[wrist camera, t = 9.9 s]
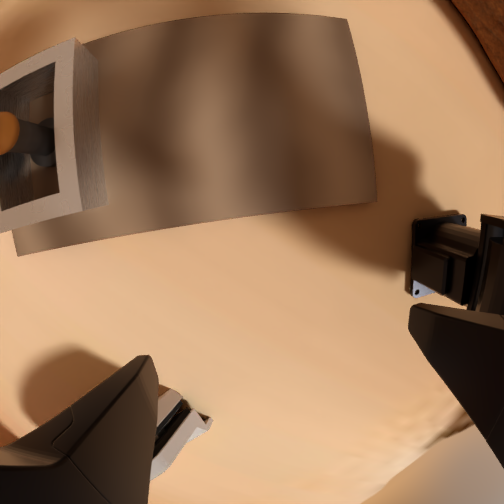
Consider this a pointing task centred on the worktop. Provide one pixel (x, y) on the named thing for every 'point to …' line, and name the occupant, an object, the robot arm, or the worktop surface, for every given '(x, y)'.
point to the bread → (486, 27)
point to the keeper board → (210, 126)
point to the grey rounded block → (174, 431)
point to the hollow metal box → (66, 135)
